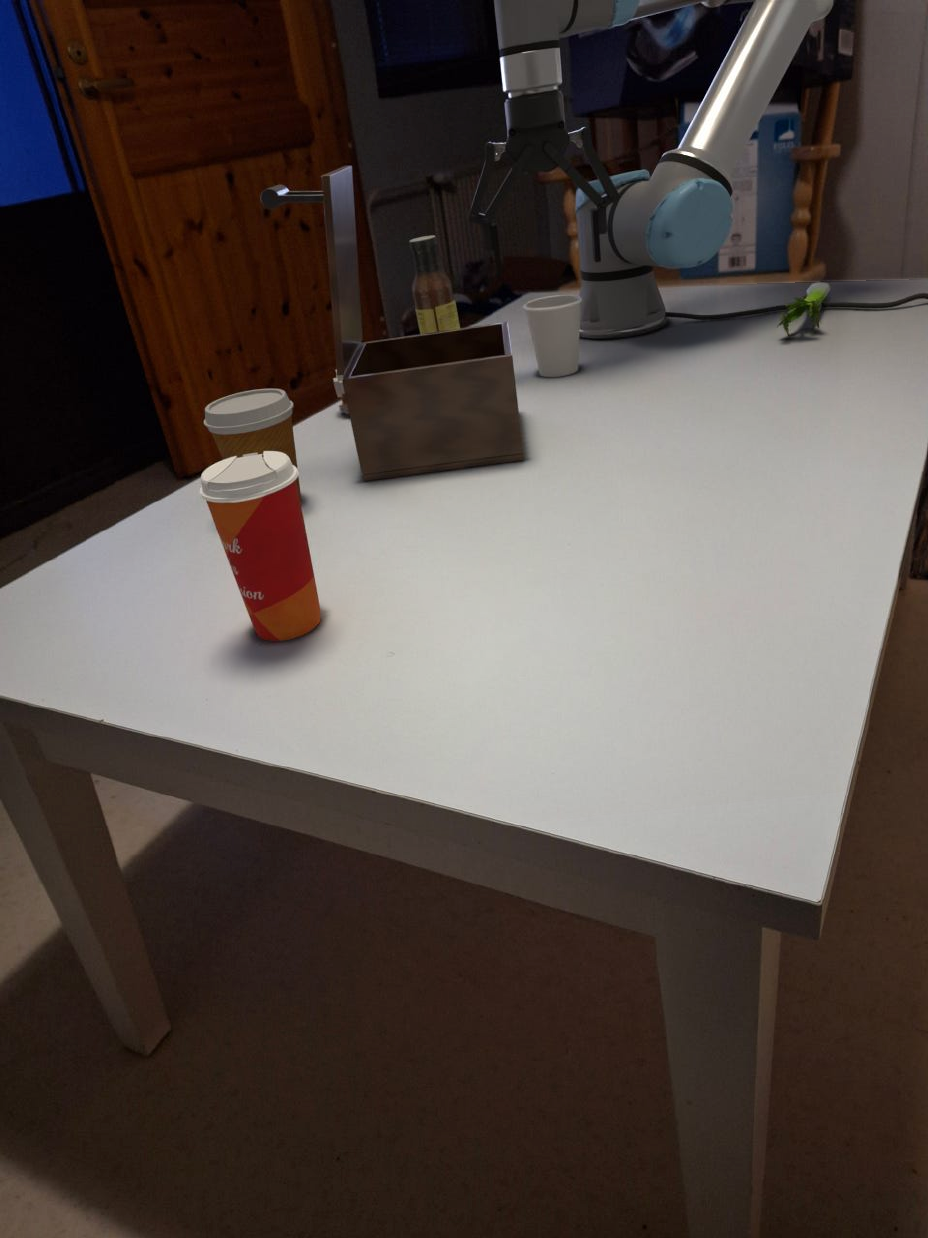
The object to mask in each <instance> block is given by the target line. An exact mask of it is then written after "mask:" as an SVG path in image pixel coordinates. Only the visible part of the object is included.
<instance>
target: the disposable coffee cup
mask: <svg viewBox="0 0 928 1238" xmlns="http://www.w3.org/2000/svg"><path fill="white" fill-rule="evenodd" d="M293 409H294V402H293V401H292V400H291V399H290V398H289V396H288V394H287V393H286V391H285V390H283V389H281V388H260V389H258V388H257V389H252V390H245V391H240V392H236V393H233V394H229V395H227V396H224V397H221V398H218V399H216V400H213V401H212V402H210V403H209V404H207V405H206V406H205V407H204V420H203V425H204V426H205V427H206V428H207V429H208V431H209V432H210V433H211V434H212V437H213V439H214V443H215V444H216V446H217V449H218V451H219V453H220V456H221V458H222V460H225V459H227V458H230V457H234V456H237V458H240V457H243V455H245V454H251V453H258V454H263V452H264V451H277V452H282V453H284V454H286V455H287V456H288V457H289V458H290V460H291V463H292V465H294V466H295V467H296V468H297V469H298V460H297V453H296V452H297V451H296V442H295V436H294V426H293V418H292V417H293V416H292V415H293ZM262 457H264V456H263V455H262ZM298 470H299V469H298ZM299 477H300V476H299V475H298V477H297V478H296V481H297V487H298V492H299V497H300V503H302V494H301V487H300V478H299Z"/></svg>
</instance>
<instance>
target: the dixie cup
mask: <svg viewBox="0 0 928 1238" xmlns="http://www.w3.org/2000/svg"><path fill="white" fill-rule="evenodd" d="M581 301H582V298H581V297H580V296H579V295H577V294H556V295H548V296H543V297H539V298H535V299H532V300H529V301H527V302H526V303H524V304H523V306H522V309H523V310H524V311H525V315H526V320H527V323H528V328H529V334H530V337H531V342H532V345H533V346H532V347H533V350H534V354H535V359H536V363H537V368H538V372H539V375H540V376H542V377H545V378H559V377H565V376H569V375H572V374H575V373H576V372H578V371H579V360H580V359H579V358H580V336H579V331H580V305H581Z"/></svg>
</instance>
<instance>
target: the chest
mask: <svg viewBox="0 0 928 1238" xmlns="http://www.w3.org/2000/svg"><path fill="white" fill-rule="evenodd" d="M510 335H511V334H510V328H509V322H508V321H502V322H496V323H488V324H482V325H474V326H468V327H467V326H466V327H460V329H453V330H446V331H439V332H432V333H425V334H420V333H418V334H413V335H405V336H398V337H392V338H385V339H378V340H370V341H365V342H361V343H360V345H359V347H358V349H357V351H356V353H355V355H354V357H353V359H352V361H351V363H350V365H349V367H348V369H347V371H346V373H345V375H344V376H343V379H342V383H343V387H344V392H345V397H346V402H347V407H348V411H349V414H348V416H349V421H350V425H351V430H352V434H353V440H354V444H355V450H356V455H357V458H358V463H359V468H360V473H361V476H362V477H361V478H362V481H363V482H368V481H375V480H376V481H377V480H384V479H390V478H399V477H405V476H413V475H421V474H422V475H423V474H429V473H436V472H443V471H450V470H458V469H459V470H460V469H468V468H475V467H481V466H482V467H483V466H490V465H496V464H505V463H512V462H519V461H524V460H525V453H524V443H523V436H522V428H521V418H520V409H519V400H518V393H517V385H516V376H515V365H514V358H513V350H512V342H511V337H510Z"/></svg>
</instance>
